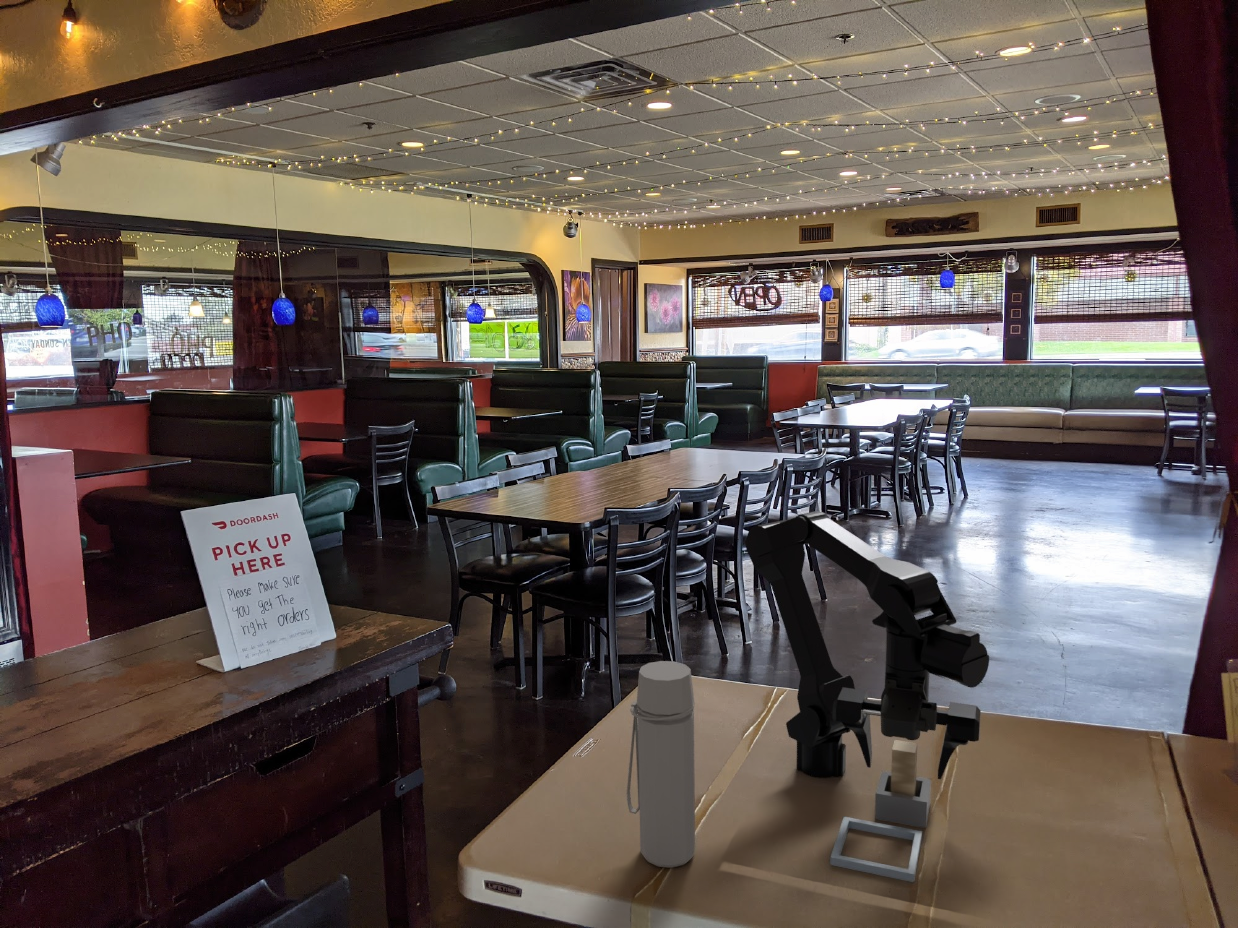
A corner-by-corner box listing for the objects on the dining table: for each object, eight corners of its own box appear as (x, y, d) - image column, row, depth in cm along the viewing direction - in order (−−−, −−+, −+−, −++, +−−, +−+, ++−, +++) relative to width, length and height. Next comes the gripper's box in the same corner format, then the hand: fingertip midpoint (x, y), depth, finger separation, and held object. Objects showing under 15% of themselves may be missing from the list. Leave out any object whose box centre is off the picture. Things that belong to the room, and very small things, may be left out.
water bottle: (705, 844, 121) (703, 663, 117) (683, 877, 114) (681, 686, 110) (640, 829, 125) (637, 654, 121) (616, 860, 118) (611, 675, 114)
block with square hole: (874, 823, 125) (875, 793, 124) (881, 800, 131) (881, 770, 130) (925, 833, 123) (926, 802, 122) (929, 808, 129) (930, 778, 128)
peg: (890, 814, 126) (892, 749, 124) (892, 803, 129) (894, 739, 127) (913, 818, 125) (915, 752, 123) (915, 807, 128) (917, 743, 126)
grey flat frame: (830, 870, 115) (830, 856, 115) (843, 828, 124) (844, 816, 124) (913, 887, 111) (914, 874, 111) (921, 843, 120) (921, 831, 120)
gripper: (825, 676, 120) (824, 787, 122) (980, 696, 112) (974, 814, 115) (840, 647, 130) (838, 750, 132) (982, 664, 123) (977, 773, 125)
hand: (903, 771), depth 126 cm, fingers open, 9 cm apart
